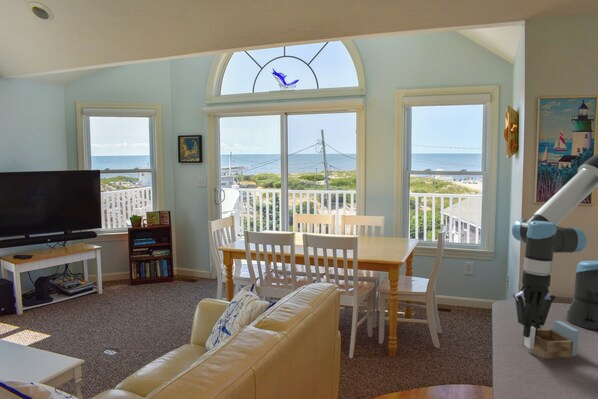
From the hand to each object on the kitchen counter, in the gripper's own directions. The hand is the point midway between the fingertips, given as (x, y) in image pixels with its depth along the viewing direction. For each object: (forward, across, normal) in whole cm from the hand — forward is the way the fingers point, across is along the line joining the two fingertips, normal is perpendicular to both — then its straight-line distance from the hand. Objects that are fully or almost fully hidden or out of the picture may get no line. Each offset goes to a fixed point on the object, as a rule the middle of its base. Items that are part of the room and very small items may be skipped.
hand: (528, 346), depth 141 cm
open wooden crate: (+2, -6, 0) cm, 7 cm away
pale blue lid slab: (+1, -12, 0) cm, 13 cm away
